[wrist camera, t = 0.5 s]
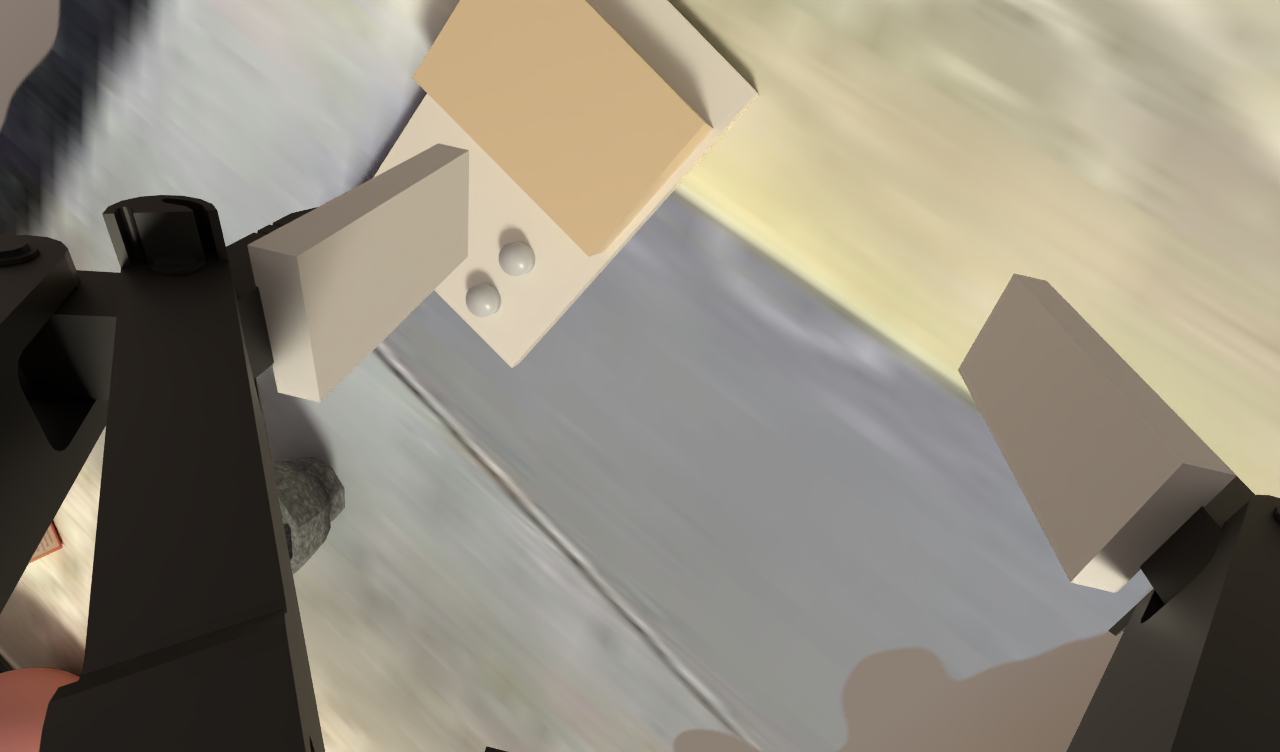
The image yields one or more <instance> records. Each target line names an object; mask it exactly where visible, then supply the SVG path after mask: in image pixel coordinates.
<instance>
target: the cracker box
mask: <svg viewBox="0 0 1280 752" xmlns="http://www.w3.org/2000/svg"><path fill="white" fill-rule="evenodd" d="M61 548H62V544H61V542H60V540H59V537H58V535H57V533H56V531H55V528H54V526H53V524H52V522H51V524H50V526H49V528H48V530H47V531H46V533H45V535H44V537H43V538H42V540H41V542H40V544H39V546H38V547H37V549H36V551H35V553H34V555H33V556H32V558H31V560H30V562H29V563H31V562H33V561H35V560H37V559H39V558H42V557H44V556H46V555H48V554H50V553H52V552H54V551H56V550H59V549H61Z"/></svg>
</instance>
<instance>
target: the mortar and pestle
mask: <svg viewBox="0 0 1280 752" xmlns="http://www.w3.org/2000/svg"><path fill="white" fill-rule="evenodd" d="M272 464H273V470H274V475H275V481H276V486H277V492H278V497H279V503H280V508H281V514H282V519H283V525H284V530H285V536H286V541H287V546H288V552H289V557H290V563H291V568H292V574H294V573H296V572H297V571H298V570H299V569H300V568H301V567H302V566H303V565H304V564H305V563H306V562H307V561H308V560H309V559H310V558H311V556H312V555H313V554H314V553H315V552H316V551H317V550H318V548H319V547H320V546H321V545H322V544H323V543H324V541H325V540H326V537H327V535H328V533H329V530H330V528H331V527H330V522H331V521H333V520H334V519H335V518H336V517H337V516H338V515H339V514H340V512H341V511H342V510H343V509H344V508H345V498H344V487H343V485H342V484H341V482H340V481H339V479H338V477H337V476H336V474H335V472H334V471H333V469H332V468H330V467H328V466H327V465H325V464H323V463H322V462H320V461H318V460H317V459H315V458H307V459H296V460H295V461H293V462H283V461H272Z"/></svg>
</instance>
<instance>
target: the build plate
mask: <svg viewBox="0 0 1280 752" xmlns="http://www.w3.org/2000/svg"><path fill="white" fill-rule="evenodd" d="M412 78H413V79H414V80H415V81H416V82H417V83H418V84H419V85H420V86H421V87H422V88H423V89H424V90H425V91H426V92H427V94H426V96H425V97H424V99H423V100H422V102H421V104H420V105H419V107H418V108H417V110H416V111H415V113H414V115H413V116H412V118H411V119H410V121H409V122H408V124H407V126H406V127H405V129H404V130H403V132H402V133H401V135H400V137H399V138H398V140H397V141H396V143H395V144H394V146H393V148H392V149H391V151H390V152H389V154H388V155H387V157H386V159H385V160H384V162H383V163H382V165H381V166H380V168H379V170H378V171H377V173H376V174H375V176H374V177H376V176H378V175H380V174H382V173H384V172H385V171H387V170H389V169H391V168H393V167H395V166H397V165H399V164H400V163H402V162H404V161H406V160H408V159H410V158H412V157H414V156H415V155H417V154H419V153H421V152H423V151H425V150H427V149H429V148H430V147H432V146H434V145H436V144H438V143H439V144H444V145H448V146H453V147H457V148H461V149H466V150H469V211H468V257H467V258H466V259H465V260H464V261H463V262H462V263H461V264H460V265H459V266H458V267H457V268H456V269H455V270H454V271H453V272H452V273H451V274H450V275H449V276H448V277H447V278H446V279H445V280H444V281H443V282H442V283H441V284H440V285H439V286H438V287H437V288H436V289H435V291H436V292H437V293H438V294H439V295H440V296H441V297H442V298H443V299H444V300H445V301H446V302H447V303H448V304H449V305H450V306H451V307H452V308H453V309H454V310H455V311H456V312H457V313H458V314H459V315H460V316H461V317H462V318H463V319H464V320H465V321H466V322H467V323H468V324H469V325H470V326H471V327H472V328H473V329H474V330H475V331H476V332H477V333H478V334H479V335H480V336H481V337H482V338H483V339H484V340H485V341H486V342H487V343H488V344H489V345H490V346H491V347H492V348H493V349H494V350H495V351H496V353H497V354H498V355H499V356H500V357H501V358H502V359H503V360H504V361H505V362H506V363H507V364H508V365H509V366H510V367H511V368H512V367H514V366H516V365H518V364H519V363H520V362H521V361H522V360H523V359H524V358H525V357H526V355H527V354H528V353H529V352H530V351H531V350H532V349H533V348H534V346H535V345H536V344H537V343H538V342H539V341H540V340H541V339H542V338H543V336H544V335H545V334H546V333H547V332H548V331H549V330H550V329H551V327H552V326H553V325H554V324H555V323H556V322H557V321H558V320H559V318H560V317H561V316H562V315H563V314H564V313H565V312H566V311H567V310H568V308H569V307H570V306H571V305H572V304H573V303H574V302H575V301H576V299H577V298H578V297H579V296H580V295H581V294H582V293H583V292H584V291H585V289H586V288H587V287H588V286H589V285H590V284H591V283H592V282H593V280H594V279H595V278H596V277H597V276H598V275H599V274H600V273H601V272H602V270H603V269H604V268H605V267H606V266H607V265H608V264H609V263H610V261H611V260H612V259H613V258H614V257H615V256H616V255H617V254H618V252H619V251H620V250H621V249H622V248H623V247H624V246H625V245H626V244H627V242H628V241H629V240H630V239H631V238H632V237H633V236H634V235H635V233H636V232H637V231H638V230H639V229H640V228H641V227H642V226H643V225H644V223H645V222H646V221H647V220H648V219H649V218H650V217H651V216H652V214H653V213H654V212H655V211H656V210H657V209H658V208H659V207H660V206H661V204H662V203H663V202H664V201H665V200H666V199H667V198H668V197H669V195H670V194H671V193H672V192H673V191H674V190H675V189H676V188H677V186H678V185H679V184H680V183H681V182H682V181H683V180H684V179H685V178H686V176H687V175H688V174H689V173H690V172H691V171H692V170H693V169H694V167H695V166H696V165H697V164H698V163H699V162H700V161H701V160H702V159H703V157H704V156H705V155H706V154H707V153H708V152H709V151H710V150H711V148H712V147H713V146H714V145H715V144H716V143H717V142H718V141H719V140H720V138H721V137H722V136H723V135H724V134H725V133H726V132H727V131H728V129H729V128H730V127H731V126H732V125H733V124H734V123H735V122H736V120H737V119H738V118H739V117H740V116H741V115H742V114H743V113H744V112H745V110H746V109H747V108H748V107H749V106H750V105H751V104H752V103H753V101H754V100H755V99H756V98H757V97H758V96H759V95H758V93H757V92H756V91H755V90H754V89H753V87H752V86H751V85H750V84H749V83H748V82H747V81H746V80H745V79H744V78H743V77H742V76H741V75H740V74H739V73H738V72H737V71H736V70H735V69H734V68H733V67H732V66H731V65H730V64H729V63H728V62H727V61H726V60H725V59H724V58H723V57H722V56H721V55H720V54H719V53H718V52H717V51H716V50H715V48H714V47H713V46H712V45H711V44H710V43H709V42H708V41H707V40H706V39H705V38H704V37H703V36H702V35H701V34H700V33H699V32H698V31H697V30H696V29H695V28H694V27H693V26H692V25H691V24H690V23H689V22H688V21H687V20H686V19H685V18H684V17H683V16H682V15H681V14H680V13H679V12H678V11H677V9H676V8H675V7H674V6H673V5H672V4H671V3H670V2H669V1H668V0H460V1H459V3H458V4H457V6H456V8H455V9H454V11H453V13H452V14H451V16H450V17H449V19H448V21H447V22H446V24H445V26H444V27H443V29H442V30H441V32H440V34H439V35H438V37H437V39H436V40H435V42H434V43H433V45H432V47H431V48H430V50H429V51H428V53H427V55H426V56H425V58H424V60H423V61H422V63H421V64H420V66H419V68H418V69H417V71H416V73H415V74H414V76H413V77H412ZM374 177H373V178H374Z"/></svg>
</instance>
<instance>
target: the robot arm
mask: <svg viewBox="0 0 1280 752" xmlns="http://www.w3.org/2000/svg"><path fill="white" fill-rule="evenodd" d="M468 211H469V150H466V149H461V148H457V147H453V146H448V145H444V144H439V143H438V144H436V145H434V146H432V147H430V148H429V149H427V150H425V151H423V152H421V153H419V154H417V155H415V156H414V157H412V158H410V159H408V160H406V161H404V162H402V163H400V164H399V165H397V166H395V167H393V168H391V169H389V170H387V171H385V172H384V173H382V174H380V175H378V176H376V177H374V178H372V179H370V180H368V181H367V182H365V183H363V184H361V185H359V186H357V187H355V188H353V189H352V190H350V191H348V192H346V193H344V194H342V195H340V196H338V197H337V198H335V199H333V200H331V201H329V202H327V203H325V204H323V205H322V206H320V207H316V208H312V209H308V210H303V211H299V212H295V213H291V214H289V215H287V216H285V217H283V218H281V219H279V220H277V221H275V222H274V223H273V225H268V226H266V227H264V228H262V229H260V230H258V233H252V234H250V235H248V236H246V237H244V238H242V239H241V240H239V241H237V242H235V243H233V244H231V245H229V246H227V247H226V246H225V242H224V238H223V233H222V229H221V225H220V220H219V216H218V212H217V210H216V208H215V207H214V206H213V204H211V203H208V202H206V201H204V200H201V199H197V198H191V197H186V196H172V195H157V196H144V197H137V198H133V199H128V200H123V201H120V202H118V203H116V204H113V205H111V206H109V207H108V208H107V209H106V210H105V211H104V213H103V217H104V220H105V223H106V226H107V229H108V232H109V235H110V238H111V241H112V243H113V246H114V249H115V252H116V255H117V258H118V261H119V264H120V267H121V273H112V272H96V271H80V270H76V268H75V266H74V263H73V261H72V258H71V256H70V253H69V251H68V248H67V247H66V246H65V245H64V244H63V243H62V242H61V241H57V240H54V239H51V238H48V237H40V236H30V235H17V236H14V235H12V234H1V235H0V614H1V612H2V610H3V608H4V606H5V605H6V603H7V601H8V599H9V597H10V596H11V594H12V592H13V590H14V589H15V587H16V585H17V583H18V581H19V580H20V578H21V576H22V574H23V572H24V571H25V569H26V567H27V565H28V563H29V562H30V560H31V558H32V556H33V555H34V553H35V551H36V549H37V547H38V546H39V544H40V542H41V540H42V538H43V537H44V535H45V533H46V531H47V530H48V528H49V526H50V524H51V522H52V521H53V519H54V517H55V515H56V513H57V512H58V510H59V508H60V506H61V504H62V503H63V501H64V499H65V497H66V496H67V494H68V492H69V490H70V488H71V487H72V485H73V483H74V481H75V479H76V478H77V476H78V474H79V472H80V471H81V469H82V467H83V465H84V463H85V462H86V460H87V458H88V456H89V454H90V453H91V451H92V449H93V447H94V446H95V444H96V442H97V440H98V438H99V437H100V435H101V433H102V431H103V429H104V428H105V426H106V434H105V445H104V456H103V466H102V477H101V488H100V498H99V509H98V520H97V530H96V541H95V552H94V562H93V573H92V584H91V594H90V605H89V616H88V626H87V637H86V648H85V658H84V665H83V670H82V675H81V677H80V678H79V680H78V681H76V682H73V683H70V684H67V685H64V686H61V687H58V689H57V690H56V692H55V694H54V695H53V697H52V698H51V700H50V701H49V703H48V707H47V711H46V716H45V720H44V724H43V728H42V734H41V741H40V748H39V752H325V749H324V743H323V738H322V733H321V727H320V722H319V716H318V711H317V705H316V700H315V694H314V689H313V683H312V678H311V672H310V667H309V661H308V656H307V651H306V645H305V640H304V634H303V629H302V623H301V618H300V612H299V607H298V601H297V596H296V590H295V585H294V579H293V574H292V568H291V563H290V557H289V552H288V546H287V541H286V536H285V530H284V525H283V519H282V514H281V508H280V503H279V497H278V492H277V486H276V481H275V475H274V470H273V464H272V459H271V453H270V448H269V442H268V437H267V432H266V426H265V421H264V415H263V410H262V404H261V399H260V393H259V389H258V385H257V380H256V377H257V376H258V375H260V374H261V373H262V372H263V371H265V370H266V369H267V368H268V367H270V366H271V365H272V366H273V371H274V376H275V380H276V385H277V390H278V393H283V394H287V395H291V396H295V397H299V398H303V399H308V400H312V401H316V402H321V401H322V400H323V399H324V398H325V397H326V396H327V395H328V394H329V393H330V392H331V391H332V390H333V389H334V388H335V387H336V386H337V385H339V384H340V383H341V382H342V381H343V380H344V379H345V378H346V377H347V376H348V375H349V374H350V373H351V372H352V371H353V370H354V369H355V368H356V367H357V366H358V365H359V364H360V363H361V362H362V361H363V360H364V359H365V358H366V357H367V356H368V355H369V354H370V353H371V352H372V351H373V350H374V349H375V348H376V347H377V346H378V345H379V344H380V343H381V342H382V341H383V340H384V339H385V338H386V337H387V336H388V335H389V334H390V333H391V332H392V331H393V330H394V329H395V328H396V327H397V326H398V325H399V324H400V323H401V322H402V321H403V320H404V319H405V318H406V317H407V316H408V315H409V314H410V313H411V312H412V311H413V310H414V309H415V308H416V307H417V306H418V305H419V304H420V303H421V302H422V301H423V300H424V299H425V298H426V297H427V296H428V295H429V294H430V293H431V292H432V291H433V290H435V289H436V288H437V287H438V286H439V285H440V284H441V283H442V282H443V281H444V280H445V279H446V278H447V277H448V276H449V275H450V274H451V273H452V272H453V271H454V270H455V269H456V268H457V267H458V266H459V265H460V264H461V263H462V262H463V261H464V260H465V259H466V258H467V257H468ZM958 371H959V372H960V374H961V376H962V378H963V380H964V382H965V384H966V386H967V388H968V389H969V391H970V393H971V395H972V397H973V399H974V401H975V403H976V405H977V406H978V408H979V410H980V412H981V414H982V416H983V418H984V420H985V421H986V423H987V425H988V427H989V429H990V431H991V433H992V435H993V437H994V438H995V440H996V442H997V444H998V446H999V448H1000V450H1001V452H1002V454H1003V455H1004V457H1005V459H1006V461H1007V463H1008V465H1009V467H1010V469H1011V471H1012V472H1013V474H1014V476H1015V478H1016V480H1017V482H1018V484H1019V486H1020V488H1021V489H1022V491H1023V493H1024V495H1025V497H1026V499H1027V501H1028V503H1029V505H1030V506H1031V508H1032V510H1033V512H1034V514H1035V516H1036V518H1037V520H1038V522H1039V523H1040V525H1041V527H1042V529H1043V531H1044V533H1045V535H1046V537H1047V538H1048V540H1049V542H1050V544H1051V546H1052V548H1053V550H1054V552H1055V554H1056V555H1057V557H1058V559H1059V561H1060V563H1061V565H1062V567H1063V569H1064V571H1065V572H1066V574H1067V576H1068V578H1069V580H1070V582H1072V583H1076V584H1080V585H1084V586H1089V587H1093V588H1097V589H1101V590H1105V591H1109V592H1114V593H1117V592H1118V591H1119V590H1120V589H1121V588H1122V587H1123V586H1124V585H1125V584H1126V583H1127V582H1128V581H1129V580H1130V579H1131V578H1132V577H1133V576H1134V575H1135V574H1136V573H1137V572H1138V571H1139V570H1140V569H1141V570H1142V571H1143V573H1144V574H1145V576H1146V577H1147V579H1148V580H1149V582H1150V583H1151V585H1152V586H1153V588H1154V589H1153V590H1152V591H1151V592H1150V593H1149V594H1147V595H1146V596H1145V597H1144V598H1143V599H1142V600H1141V601H1140V602H1139V603H1138V604H1137V605H1136V606H1135V607H1133V608H1132V609H1131V610H1130V611H1129V612H1128V613H1127V614H1126V615H1125V616H1124V617H1123V618H1122V619H1120V620H1119V621H1118V622H1117V623H1116V624H1115V625H1114V626H1113V627H1112V628H1111V629H1110V630H1109V632H1111V633H1112V634H1114V635H1115V636H1116V635H1117V634H1119V633H1120V632H1122V631H1124V633H1123V635H1122V637H1121V639H1120V641H1119V643H1118V645H1117V647H1116V650H1115V652H1114V654H1113V656H1112V658H1111V660H1110V662H1109V664H1108V666H1107V668H1106V670H1105V673H1104V675H1103V677H1102V679H1101V681H1100V683H1099V685H1098V687H1097V689H1096V692H1095V693H1094V696H1093V698H1092V700H1091V702H1090V704H1089V706H1088V708H1087V710H1086V712H1085V714H1084V716H1083V719H1082V721H1081V723H1080V725H1079V727H1078V729H1077V731H1076V733H1075V735H1074V737H1073V739H1072V742H1071V744H1070V746H1069V748H1068V750H1067V752H1280V498H1277V497H1273V496H1270V495H1255V494H1254V493H1253V492H1252V491H1251V490H1250V489H1249V488H1248V487H1247V486H1246V485H1245V484H1244V483H1243V482H1242V481H1241V480H1240V479H1239V478H1238V477H1237V475H1236V474H1235V473H1234V472H1233V471H1232V470H1231V469H1230V468H1229V467H1228V466H1227V465H1226V464H1225V463H1224V462H1223V461H1222V460H1221V459H1220V458H1219V457H1218V456H1217V455H1216V454H1215V453H1214V452H1213V451H1212V450H1211V449H1210V448H1209V447H1208V446H1207V445H1206V444H1205V443H1204V442H1203V441H1202V440H1201V438H1200V437H1199V436H1198V435H1197V434H1196V433H1195V432H1194V431H1193V430H1192V429H1191V428H1190V427H1189V426H1188V425H1187V424H1186V423H1185V422H1184V421H1183V420H1182V419H1181V418H1180V417H1179V416H1178V415H1177V414H1176V413H1175V412H1174V411H1173V410H1172V409H1171V408H1170V407H1169V406H1168V405H1167V404H1166V403H1165V402H1164V401H1163V400H1162V399H1161V398H1160V396H1159V395H1158V394H1157V393H1156V392H1155V391H1154V390H1153V389H1152V388H1151V387H1150V386H1149V385H1148V384H1147V383H1146V382H1145V381H1144V380H1143V379H1142V378H1141V377H1140V376H1139V375H1138V374H1137V373H1136V372H1135V371H1134V370H1133V369H1132V368H1131V367H1130V366H1129V365H1128V364H1127V363H1126V362H1125V361H1124V360H1123V359H1122V358H1121V357H1120V356H1119V355H1118V353H1117V352H1116V351H1115V350H1114V349H1113V348H1112V347H1111V346H1110V345H1109V344H1108V343H1107V342H1106V341H1105V340H1104V339H1103V338H1102V337H1101V336H1100V335H1099V334H1098V333H1097V332H1096V331H1095V330H1094V329H1093V328H1092V327H1091V326H1090V325H1089V324H1088V323H1087V322H1086V321H1085V320H1084V319H1083V318H1082V317H1081V316H1080V315H1079V314H1078V313H1077V311H1076V310H1075V309H1074V308H1073V307H1072V306H1071V305H1070V304H1069V303H1068V302H1067V301H1066V300H1065V299H1064V298H1063V297H1062V296H1061V295H1060V294H1059V293H1058V292H1057V291H1056V290H1055V289H1054V288H1053V287H1052V286H1051V285H1050V284H1049V283H1048V282H1047V281H1045V280H1040V279H1036V278H1031V277H1027V276H1023V275H1018V274H1013V276H1012V278H1011V280H1010V281H1009V283H1008V285H1007V287H1006V288H1005V290H1004V292H1003V293H1002V295H1001V297H1000V299H999V300H998V302H997V304H996V305H995V307H994V309H993V311H992V312H991V314H990V316H989V317H988V319H987V321H986V323H985V324H984V326H983V328H982V330H981V331H980V333H979V335H978V336H977V338H976V340H975V342H974V343H973V345H972V347H971V348H970V350H969V352H968V354H967V355H966V357H965V359H964V361H963V362H962V364H961V366H960V367H959V369H958ZM485 752H506V751H503V750H499V749H495V748H491V747H486V750H485Z"/></svg>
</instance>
